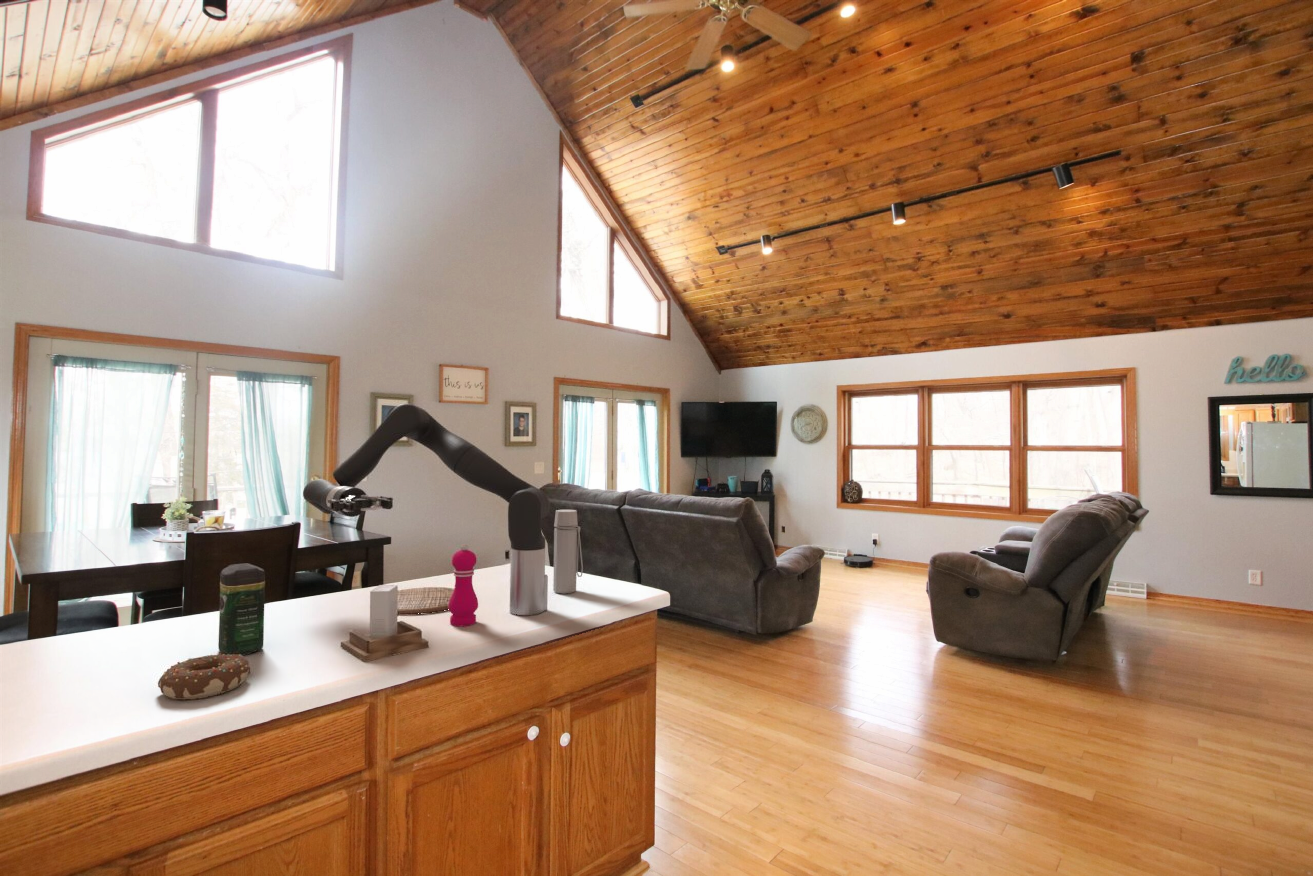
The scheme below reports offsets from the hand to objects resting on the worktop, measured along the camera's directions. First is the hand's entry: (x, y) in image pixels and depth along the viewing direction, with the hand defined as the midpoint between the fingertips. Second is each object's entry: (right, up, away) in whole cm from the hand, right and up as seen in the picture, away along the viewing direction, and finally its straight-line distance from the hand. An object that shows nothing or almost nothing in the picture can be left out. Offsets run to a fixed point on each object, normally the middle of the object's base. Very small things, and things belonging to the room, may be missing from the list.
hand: (372, 506), depth 153 cm
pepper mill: (+20, -31, +7) cm, 37 cm away
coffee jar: (-21, -30, -16) cm, 40 cm away
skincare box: (+8, -29, -13) cm, 33 cm away
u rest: (+8, -30, -13) cm, 34 cm away
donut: (-14, -30, -37) cm, 50 cm away
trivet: (+2, -31, +26) cm, 40 cm away
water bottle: (+42, -31, +41) cm, 66 cm away
